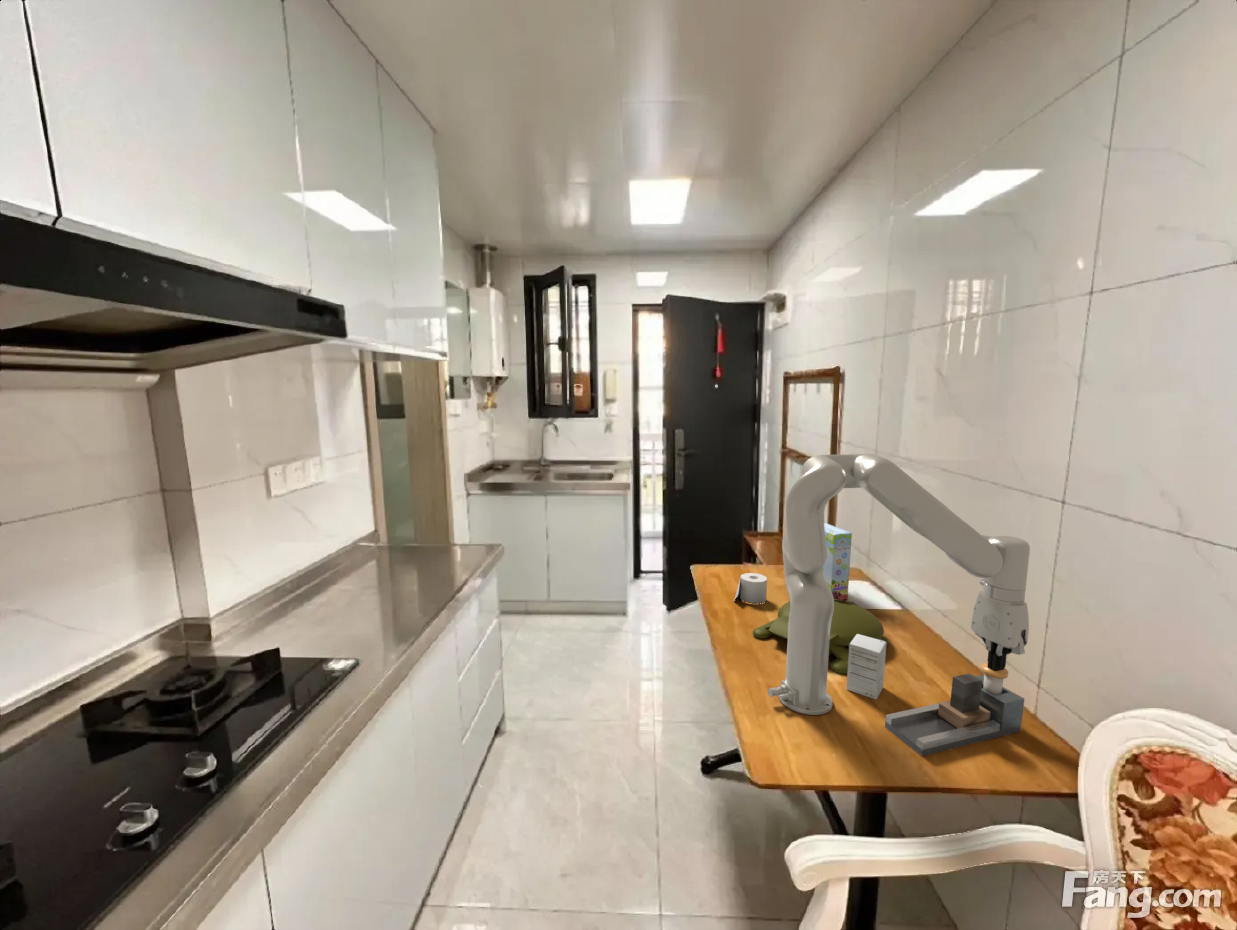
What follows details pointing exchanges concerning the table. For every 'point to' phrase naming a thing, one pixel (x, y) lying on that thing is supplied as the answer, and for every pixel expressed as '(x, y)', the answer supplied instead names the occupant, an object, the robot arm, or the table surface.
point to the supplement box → (866, 666)
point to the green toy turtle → (832, 630)
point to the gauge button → (993, 679)
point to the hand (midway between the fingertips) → (995, 668)
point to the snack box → (837, 561)
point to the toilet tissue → (752, 588)
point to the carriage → (964, 703)
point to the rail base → (938, 735)
